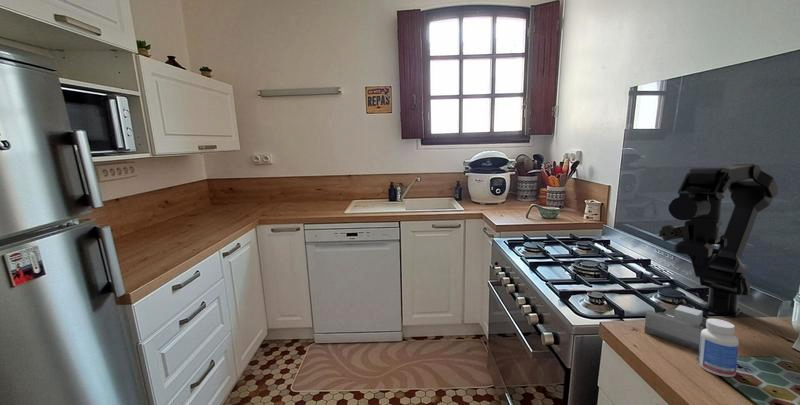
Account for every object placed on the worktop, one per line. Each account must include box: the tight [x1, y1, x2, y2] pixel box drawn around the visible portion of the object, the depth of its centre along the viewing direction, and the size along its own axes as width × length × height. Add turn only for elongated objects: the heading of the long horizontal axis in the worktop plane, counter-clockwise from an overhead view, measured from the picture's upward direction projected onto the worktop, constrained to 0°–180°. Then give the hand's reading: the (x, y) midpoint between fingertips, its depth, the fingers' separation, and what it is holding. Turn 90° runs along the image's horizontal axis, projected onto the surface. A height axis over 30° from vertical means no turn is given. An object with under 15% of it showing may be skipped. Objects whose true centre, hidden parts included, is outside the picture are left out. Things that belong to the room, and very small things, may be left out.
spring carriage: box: [666, 304, 704, 325], centre depth 81 cm, size 4×7×3 cm, turn 34°
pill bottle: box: [698, 318, 740, 378], centre depth 64 cm, size 6×5×10 cm
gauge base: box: [644, 308, 708, 352], centre depth 79 cm, size 17×10×5 cm, turn 124°
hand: (699, 276), depth 83 cm, fingers closed
